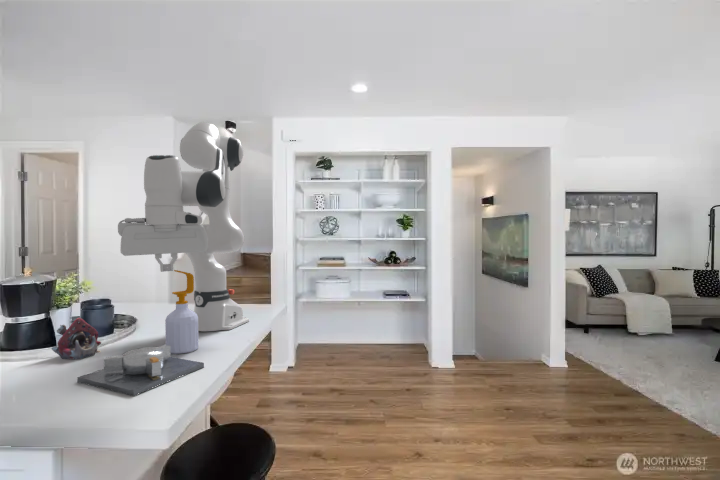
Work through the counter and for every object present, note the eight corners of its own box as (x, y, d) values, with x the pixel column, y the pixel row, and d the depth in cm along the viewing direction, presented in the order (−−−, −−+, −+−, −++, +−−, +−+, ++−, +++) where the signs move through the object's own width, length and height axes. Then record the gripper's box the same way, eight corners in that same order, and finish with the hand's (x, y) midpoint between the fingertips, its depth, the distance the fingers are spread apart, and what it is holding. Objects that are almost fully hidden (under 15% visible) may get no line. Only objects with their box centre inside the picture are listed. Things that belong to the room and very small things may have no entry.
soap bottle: (161, 350, 119) (160, 270, 119) (190, 343, 126) (189, 267, 125) (173, 356, 113) (171, 272, 113) (203, 349, 120) (202, 269, 119)
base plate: (151, 357, 112) (151, 352, 112) (203, 367, 104) (203, 362, 104) (77, 382, 94) (77, 376, 94) (133, 396, 86) (133, 389, 86)
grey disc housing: (102, 371, 96) (101, 355, 96) (167, 356, 108) (167, 342, 108) (119, 386, 87) (119, 368, 87) (189, 367, 99) (189, 352, 99)
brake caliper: (74, 355, 107) (56, 318, 109) (53, 375, 110) (36, 339, 112) (113, 344, 117) (96, 311, 120) (94, 363, 120) (77, 330, 123)
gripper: (117, 218, 92) (120, 276, 93) (208, 217, 103) (210, 269, 104) (117, 218, 98) (119, 273, 98) (203, 217, 108) (205, 266, 109)
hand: (166, 271), depth 101 cm, fingers closed
